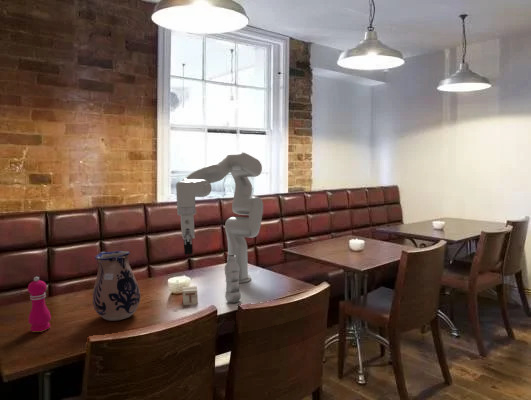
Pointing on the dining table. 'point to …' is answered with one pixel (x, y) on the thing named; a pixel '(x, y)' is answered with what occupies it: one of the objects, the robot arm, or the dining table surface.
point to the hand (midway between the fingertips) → (188, 251)
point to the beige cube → (190, 295)
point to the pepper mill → (38, 306)
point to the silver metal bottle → (232, 280)
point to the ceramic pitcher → (115, 287)
